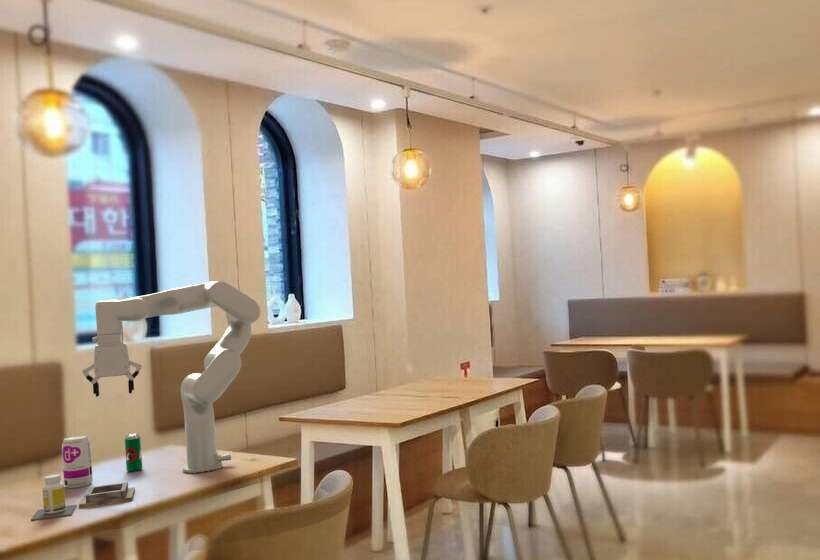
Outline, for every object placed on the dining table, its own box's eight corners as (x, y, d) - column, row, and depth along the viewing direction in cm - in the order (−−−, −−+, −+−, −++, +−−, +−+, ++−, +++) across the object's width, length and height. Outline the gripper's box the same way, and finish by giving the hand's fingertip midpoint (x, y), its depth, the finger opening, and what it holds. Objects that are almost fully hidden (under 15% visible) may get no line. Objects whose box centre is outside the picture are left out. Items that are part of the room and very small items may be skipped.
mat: (76, 505, 213) (76, 504, 213) (71, 515, 204) (71, 513, 204) (38, 511, 211) (37, 509, 211) (30, 521, 201) (30, 519, 201)
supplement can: (82, 488, 234) (79, 440, 234) (58, 488, 235) (55, 440, 235) (98, 481, 242) (95, 434, 242) (75, 481, 243) (72, 435, 243)
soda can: (144, 470, 253) (141, 434, 253) (128, 473, 250) (126, 437, 250) (140, 468, 257) (138, 432, 257) (125, 470, 254) (122, 435, 254)
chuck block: (134, 490, 226) (134, 480, 226) (132, 500, 215) (131, 490, 215) (84, 497, 222) (84, 487, 222) (78, 508, 211) (78, 497, 211)
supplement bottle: (68, 507, 210) (66, 472, 210) (61, 513, 205) (59, 477, 205) (48, 509, 210) (46, 474, 210) (40, 515, 204) (38, 479, 205)
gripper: (78, 342, 229) (82, 399, 229) (139, 337, 234) (142, 392, 234) (82, 341, 236) (85, 396, 236) (140, 336, 241) (144, 390, 241)
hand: (114, 394), depth 235 cm, fingers open, 9 cm apart
